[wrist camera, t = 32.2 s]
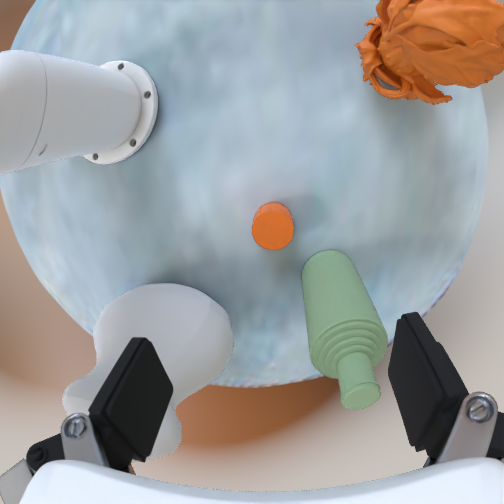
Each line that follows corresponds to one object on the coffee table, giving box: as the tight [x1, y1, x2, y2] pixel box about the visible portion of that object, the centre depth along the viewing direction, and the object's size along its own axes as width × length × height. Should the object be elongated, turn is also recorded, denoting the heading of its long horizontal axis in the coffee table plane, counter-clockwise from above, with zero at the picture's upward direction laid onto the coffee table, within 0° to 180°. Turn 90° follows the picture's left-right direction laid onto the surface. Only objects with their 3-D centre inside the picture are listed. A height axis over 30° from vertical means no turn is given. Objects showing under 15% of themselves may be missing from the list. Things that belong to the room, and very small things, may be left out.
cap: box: [252, 202, 294, 250], centre depth 29 cm, size 4×4×4 cm
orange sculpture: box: [355, 0, 504, 105], centre depth 13 cm, size 11×11×18 cm
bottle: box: [301, 250, 388, 410], centre depth 24 cm, size 6×6×18 cm
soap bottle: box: [62, 283, 234, 463], centre depth 22 cm, size 17×12×29 cm
